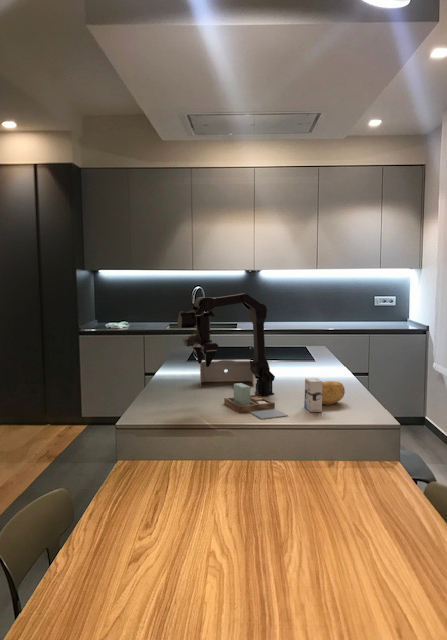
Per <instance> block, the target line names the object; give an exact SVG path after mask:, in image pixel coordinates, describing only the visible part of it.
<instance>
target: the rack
mask: <svg viewBox="0 0 447 640" xmlns="http://www.w3.org/2000/svg"><path fill="white" fill-rule="evenodd" d="M255 396H256V397H259V398H262V401H265V402H267V403H262V404H256V403H254V402H252V401H250V405H244V406H241V405H239V404H237V403H235V402H234V396H231V397H230V396H229V397H223V398H224V399H223V404H224V405H226V406H227V407H229V408H230V409H232V410H234V411H236V412H237V413H239V414H243V413H249V411H256V410H264V409H273V408H274V409H276V406H275V405H276V403H275V402H274V401H272V400H270V399H268V398H265V397H263V396H261V395H259V394H252V395H251V394H250V397H255Z"/></svg>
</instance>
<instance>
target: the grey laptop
mask: <svg viewBox="0 0 447 640" xmlns="http://www.w3.org/2000/svg"><path fill="white" fill-rule="evenodd" d="M250 361H252V360H251V359H212V361H211V363H210V366H209V367H206V363H205V359H202V362H201V364H199V367H200V368H199V373H200V374H199V375H200V376H199V384H200V385H199V386H200V387H202V383H203V382H251V383H252V386H253V387H254V386H255V383H254V379H255V375H254V374H253V373H252V371H251V370H250ZM225 370H227V371H225Z"/></svg>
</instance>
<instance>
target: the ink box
mask: <svg viewBox="0 0 447 640" xmlns="http://www.w3.org/2000/svg"><path fill="white" fill-rule="evenodd" d="M323 382H324V381H323V380H322V379H320V378H319V377H305V378H304V402H303V404H304V405H303V406H304V408H305V409H306V410H307V411H309V412H310V413H315V412H319V413H320V412H323V404H322V384H323Z"/></svg>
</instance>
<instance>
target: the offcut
mask: <svg viewBox="0 0 447 640" xmlns="http://www.w3.org/2000/svg"><path fill="white" fill-rule="evenodd" d="M250 401H252V402H254V403H256V402H257V401H262V398H259V397H256V396H255V397H250Z"/></svg>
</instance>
